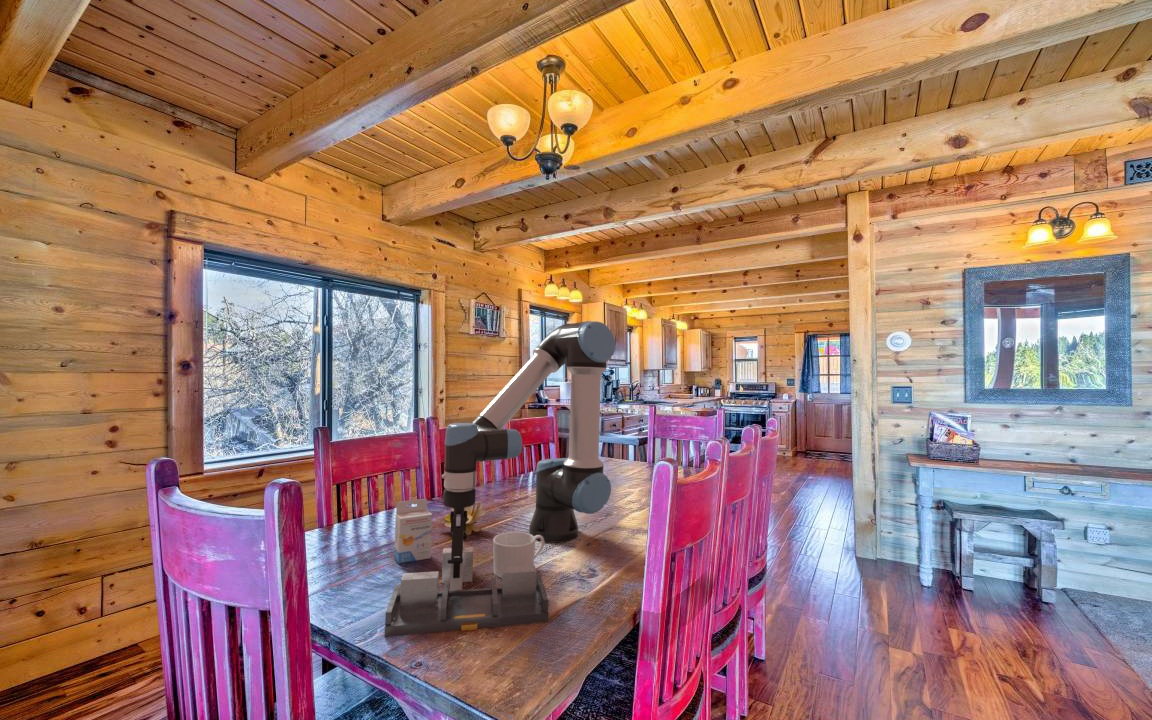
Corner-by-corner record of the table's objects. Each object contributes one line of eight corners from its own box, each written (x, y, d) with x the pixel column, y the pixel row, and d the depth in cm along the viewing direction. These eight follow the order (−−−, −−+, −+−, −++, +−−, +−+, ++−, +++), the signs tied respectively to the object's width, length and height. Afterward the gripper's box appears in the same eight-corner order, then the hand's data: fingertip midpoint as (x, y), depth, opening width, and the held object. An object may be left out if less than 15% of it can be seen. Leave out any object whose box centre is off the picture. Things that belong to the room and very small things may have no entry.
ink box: (398, 564, 122) (399, 506, 123) (393, 558, 127) (395, 502, 127) (431, 558, 127) (433, 502, 127) (426, 552, 131) (427, 497, 132)
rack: (539, 592, 109) (540, 556, 109) (548, 623, 96) (549, 582, 96) (395, 603, 102) (396, 564, 103) (383, 638, 89) (385, 593, 89)
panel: (472, 575, 117) (473, 546, 117) (472, 581, 114) (473, 551, 114) (442, 577, 116) (443, 548, 116) (441, 583, 112) (442, 553, 113)
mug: (500, 583, 113) (501, 549, 113) (486, 566, 122) (487, 535, 123) (552, 573, 119) (552, 540, 119) (535, 558, 129) (536, 528, 129)
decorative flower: (428, 522, 151) (437, 491, 152) (459, 524, 158) (468, 494, 159) (450, 539, 139) (459, 505, 141) (482, 540, 147) (491, 507, 148)
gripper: (446, 477, 126) (443, 559, 126) (440, 502, 102) (436, 604, 102) (475, 476, 128) (473, 557, 127) (475, 501, 104) (472, 601, 104)
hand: (457, 578), depth 115 cm, fingers open, 12 cm apart
